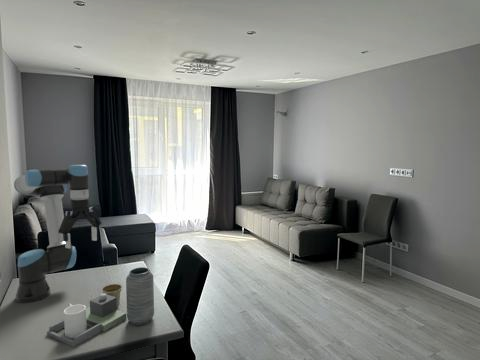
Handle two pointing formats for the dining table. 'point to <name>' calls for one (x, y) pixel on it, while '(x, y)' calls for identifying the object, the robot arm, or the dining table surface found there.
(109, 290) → the flower pot
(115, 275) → the dining table surface
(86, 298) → the dining table surface
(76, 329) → the cup
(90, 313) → the square frame with panel
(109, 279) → the dining table surface
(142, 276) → the vase
